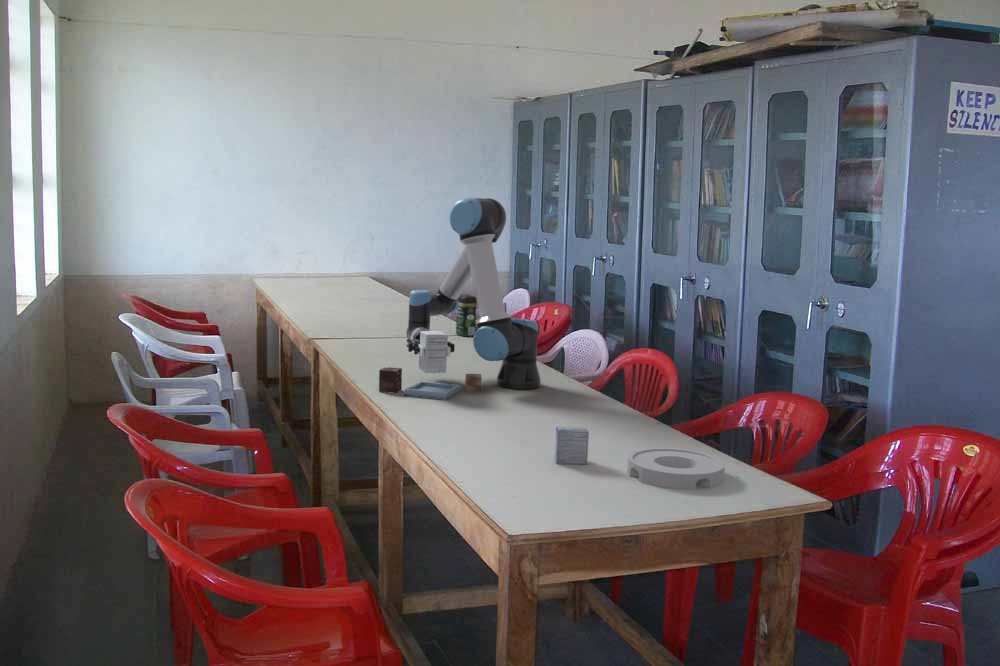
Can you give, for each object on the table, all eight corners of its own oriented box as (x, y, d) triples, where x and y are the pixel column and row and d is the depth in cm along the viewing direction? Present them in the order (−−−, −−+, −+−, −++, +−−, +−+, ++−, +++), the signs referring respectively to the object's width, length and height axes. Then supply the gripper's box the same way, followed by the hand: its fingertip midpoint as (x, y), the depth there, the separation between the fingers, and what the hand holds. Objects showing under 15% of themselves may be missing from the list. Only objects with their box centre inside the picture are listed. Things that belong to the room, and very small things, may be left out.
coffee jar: (453, 334, 449) (454, 293, 446) (469, 333, 453) (470, 293, 450) (462, 337, 441) (463, 295, 438) (478, 336, 444) (479, 295, 441)
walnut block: (480, 388, 333) (480, 373, 332) (481, 391, 328) (481, 376, 327) (465, 388, 332) (465, 373, 331) (466, 391, 327) (466, 376, 326)
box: (396, 393, 319) (396, 371, 318) (378, 392, 320) (378, 369, 319) (401, 390, 325) (402, 368, 324) (384, 388, 326) (384, 366, 325)
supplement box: (418, 368, 322) (419, 330, 320) (439, 368, 325) (441, 330, 323) (424, 373, 315) (426, 334, 313) (446, 372, 318) (448, 334, 316)
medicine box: (585, 460, 250) (587, 426, 249) (587, 465, 246) (589, 431, 244) (554, 459, 250) (555, 425, 248) (555, 464, 245) (557, 430, 244)
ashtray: (714, 496, 225) (716, 479, 225) (616, 482, 234) (617, 465, 233) (730, 471, 247) (731, 455, 246) (639, 458, 255) (640, 443, 254)
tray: (460, 391, 326) (460, 385, 326) (446, 400, 312) (446, 393, 312) (419, 387, 329) (420, 381, 329) (404, 395, 316) (405, 389, 316)
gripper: (452, 351, 339) (467, 363, 318) (392, 350, 334) (403, 363, 312) (453, 329, 338) (468, 340, 316) (393, 328, 333) (404, 340, 311)
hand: (436, 352), depth 314 cm, fingers closed on supplement box, 8 cm apart
